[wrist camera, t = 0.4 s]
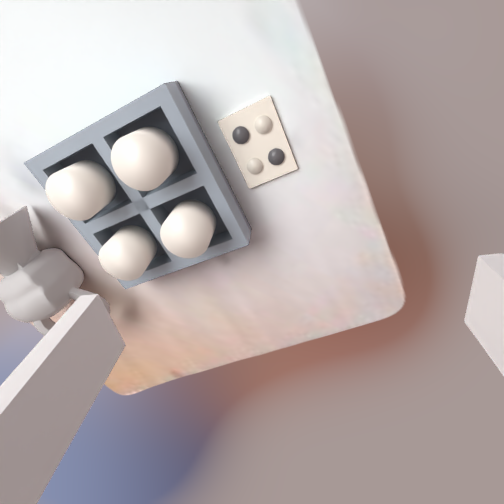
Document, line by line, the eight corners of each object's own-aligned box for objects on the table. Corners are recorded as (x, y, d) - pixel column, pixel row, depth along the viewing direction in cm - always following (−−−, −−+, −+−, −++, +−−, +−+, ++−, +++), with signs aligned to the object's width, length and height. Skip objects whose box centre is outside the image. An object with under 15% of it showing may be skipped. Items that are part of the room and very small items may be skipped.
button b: (106, 233, 37) (89, 250, 34) (141, 219, 36) (126, 235, 33) (131, 266, 40) (117, 285, 36) (165, 254, 38) (153, 272, 35)
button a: (163, 209, 35) (150, 225, 32) (202, 192, 34) (193, 207, 30) (186, 246, 37) (176, 264, 34) (224, 231, 36) (218, 249, 33)
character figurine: (-33, 227, 42) (73, 323, 51) (-100, 265, 35) (38, 370, 44) (30, 188, 38) (132, 299, 47) (-30, 220, 31) (106, 345, 40)
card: (217, 121, 33) (217, 122, 32) (270, 95, 31) (270, 95, 31) (249, 188, 36) (249, 189, 36) (297, 168, 35) (298, 169, 34)
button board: (47, 153, 36) (23, 163, 33) (177, 81, 31) (164, 83, 28) (137, 271, 44) (125, 289, 41) (251, 229, 39) (248, 244, 36)
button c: (118, 139, 31) (99, 149, 28) (160, 117, 30) (145, 124, 27) (147, 185, 34) (132, 198, 30) (188, 166, 32) (177, 178, 29)
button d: (59, 171, 34) (34, 183, 30) (95, 152, 32) (73, 162, 29) (89, 212, 36) (70, 227, 33) (125, 195, 35) (108, 210, 31)
